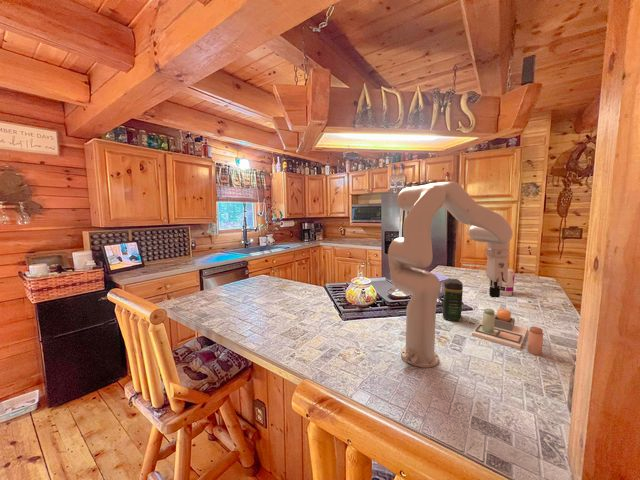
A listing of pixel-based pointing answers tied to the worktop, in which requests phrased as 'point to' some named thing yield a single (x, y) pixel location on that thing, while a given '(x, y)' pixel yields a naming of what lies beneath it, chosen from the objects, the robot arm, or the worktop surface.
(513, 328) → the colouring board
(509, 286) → the supplement can
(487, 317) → the cylinder
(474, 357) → the worktop surface
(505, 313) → the button
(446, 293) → the coffee jar
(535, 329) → the peach cylinder
